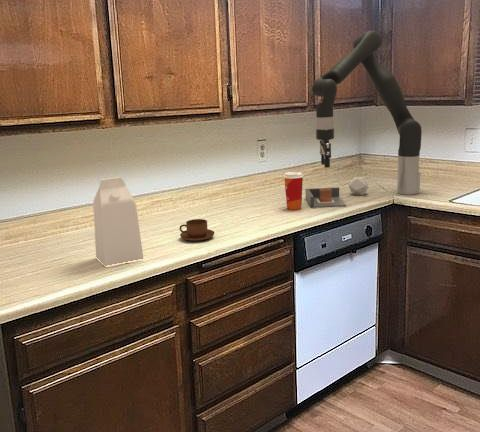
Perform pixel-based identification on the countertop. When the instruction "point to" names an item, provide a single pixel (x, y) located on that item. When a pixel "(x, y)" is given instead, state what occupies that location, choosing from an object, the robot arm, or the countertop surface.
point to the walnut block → (325, 195)
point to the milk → (116, 223)
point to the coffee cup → (293, 190)
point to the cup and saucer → (196, 230)
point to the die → (358, 186)
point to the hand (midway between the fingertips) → (325, 165)
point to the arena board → (314, 202)
